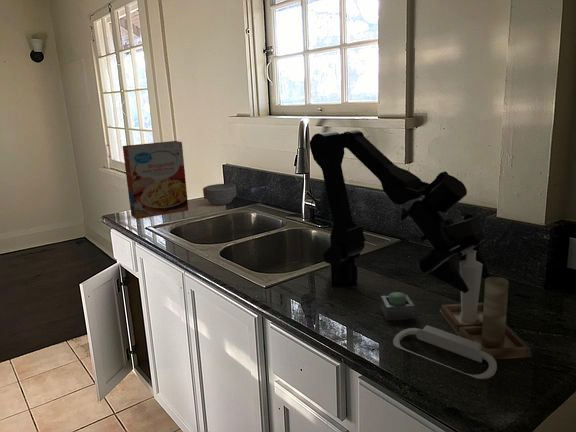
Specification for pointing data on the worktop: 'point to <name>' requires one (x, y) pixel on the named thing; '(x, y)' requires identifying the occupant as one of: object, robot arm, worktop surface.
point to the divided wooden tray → (473, 332)
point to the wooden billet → (494, 312)
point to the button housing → (397, 309)
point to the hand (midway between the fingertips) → (478, 285)
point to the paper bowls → (219, 193)
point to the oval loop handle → (450, 346)
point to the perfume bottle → (470, 286)
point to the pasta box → (155, 178)
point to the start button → (397, 298)
